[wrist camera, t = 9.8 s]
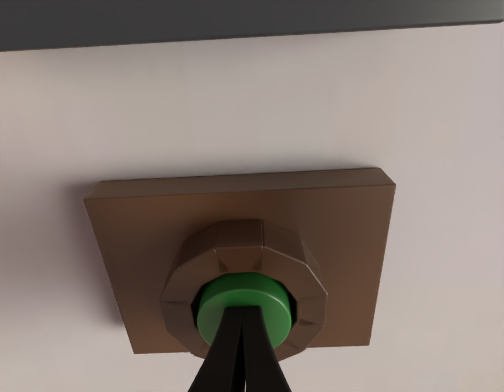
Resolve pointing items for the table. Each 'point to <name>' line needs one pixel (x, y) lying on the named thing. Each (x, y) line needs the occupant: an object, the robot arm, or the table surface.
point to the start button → (245, 303)
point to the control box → (245, 250)
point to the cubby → (219, 19)
